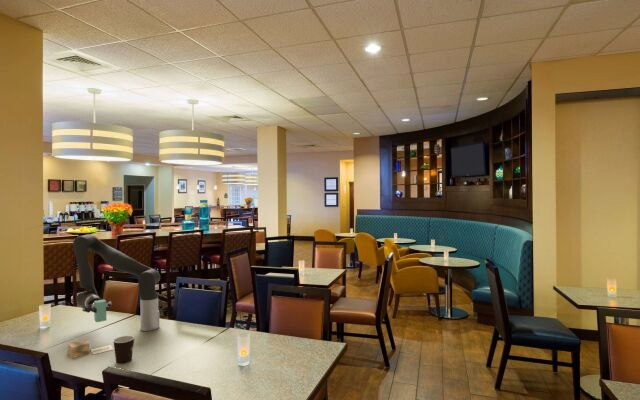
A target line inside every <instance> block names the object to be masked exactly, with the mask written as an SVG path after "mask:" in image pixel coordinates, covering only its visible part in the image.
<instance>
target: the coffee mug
mask: <svg viewBox="0 0 640 400" xmlns="http://www.w3.org/2000/svg"><path fill="white" fill-rule="evenodd" d="M112 342H113V348H114V350H113V351H114V356H115V357H114V358H115V363H116V364H118V365H124V364H127V363H128V364H129V363H130V362H131V361H133V352H134V344H135V336H133V335H123V336H118V337H116V338H114V339H113V340H112Z"/></svg>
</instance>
